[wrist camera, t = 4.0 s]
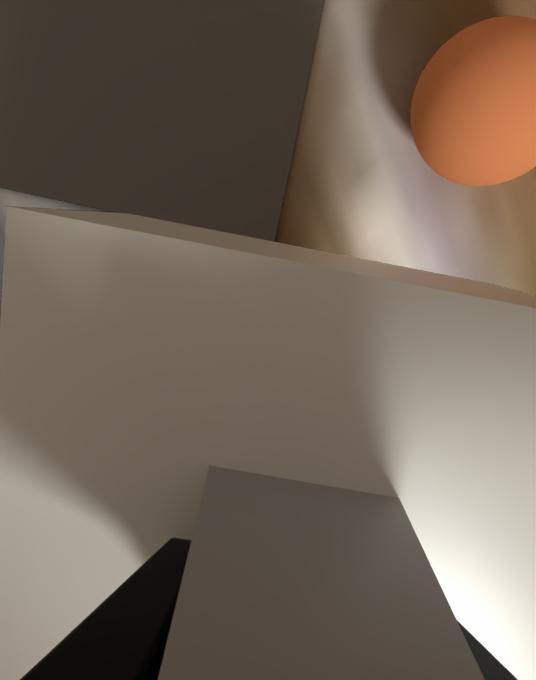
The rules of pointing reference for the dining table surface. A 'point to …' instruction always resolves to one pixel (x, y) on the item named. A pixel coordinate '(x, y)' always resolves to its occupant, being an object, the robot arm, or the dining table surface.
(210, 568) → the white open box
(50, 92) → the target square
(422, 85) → the ball
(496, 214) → the dining table surface
